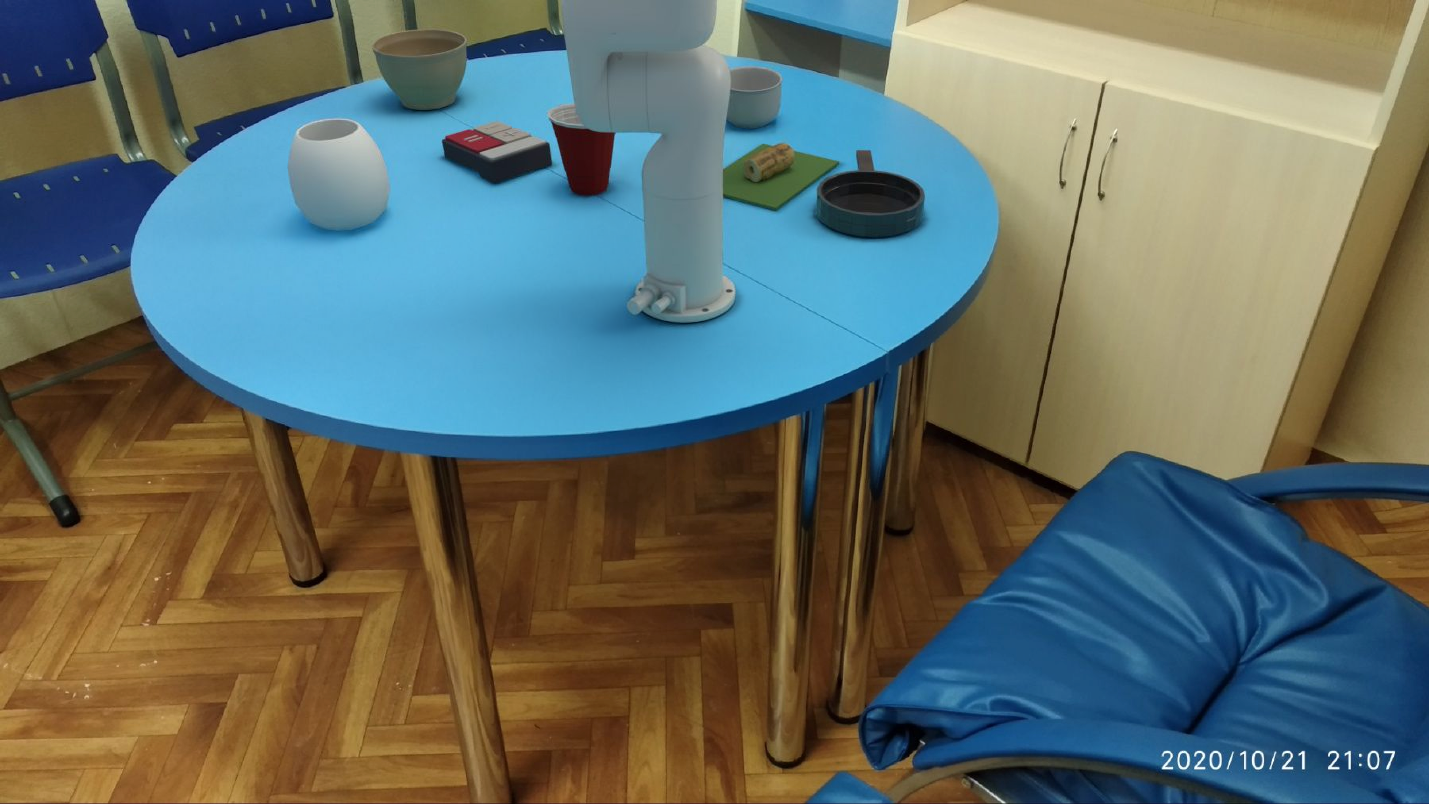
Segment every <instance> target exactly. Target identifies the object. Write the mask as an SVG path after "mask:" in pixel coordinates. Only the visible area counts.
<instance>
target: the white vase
mask: <svg viewBox="0 0 1429 804" xmlns="http://www.w3.org/2000/svg"><path fill="white" fill-rule="evenodd" d="M287 174H288V180H289V187H290V190H291V193H292V197H293V200H294V203H295V205H296V207H297V208H298V210H300V212H301V214H302V215H303V217H304V218H306V220H307V221H308V222H309V223H311V224H313V225H315V226H317V227H318V228H322V229H325V230H329V231H348V230H350V231H351V230H355V229H359V228H362V227H366V226H368V225H370V224H372V223H374V222H376V221H377V219H379V218H380V216H381V215H382V214H384V211H386V209H387V207H388V203H389V198H390V193H391V191H390V190H391V186H390V185H391V184H390V181H389V175H388V169H387V166H386V163H385V159H384V157H383V154H382V151H381V150H380V148H379V146H378V145H377V143H376V141H375V140H374V138H373V137H372V136H371V135H370V134H369V133H368V132H367V130H366V129H365V128H364V127H363V125H361V124H360V123H359V122H358V121H356V120H352V119H348V118H337V117H336V118H335V117H334V118H325V119H319V120H315V121H314V120H313V121H311V122H309V123H307V124H304V125H302V126H301V127H300V128H298V129H297V130H296V131H295V133H294V137H293V140H292V142H291V145H290V149H289V155H288V161H287Z"/></svg>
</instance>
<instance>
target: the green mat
mask: <svg viewBox="0 0 1429 804" xmlns="http://www.w3.org/2000/svg"><path fill="white" fill-rule="evenodd" d="M772 146H773V145H770V144H766V143H761V144H760V145H758V146H757V147H756V148H754V149H752V150H751V151H749V152H748V153H746V154H745V155H743V156H741V157H740V158H738V159H737V160H735V161H734V162H732V163H730V164H729V165H728V166H726V167H723V198H725V199H729V200H734V201H738V202H742V203H745V204H749V205H752V206H757V207H760V208H764V209H768V210H772V211H775V212H777V210H779V209H780V208H782V207H783V206H784V205H786V204H787V203H789V202H790V201H792V200H793V199H794V198H795V197H797V196H798V195H800V194H801V193H802V192H803V191H805V190H807V188H809V187H811V186H812V185H813V184H814V183H816V182H817V181H818V180H820V179H821V178H822V177H824V176H825V175H826V174H828V173H829V172H831V171H832V170H833V169H835V168H836V167H837V166H839V165H840V161H838V160H834V159H830V158H826V157H821V156H817V155H813V154H810V153H805V152H801V151H796V150H793V151H794V155H795V161H794V163H793V164H792V165H791V166H790V167H788V168H787V169H785V170H783V171H781V172H780V173H778V174H776V175H774V176H771V177H770V178H768V179H765V180H761V181H759V182H753V181H752V180H751V179H748V178H746V176H745V175H744V172H743V163H744V161H745V160H747V159H749V158H750V157H752V156H754V155H756V154H758V153H759V152H762V151H764V150H766V149H767V148H770V147H772Z"/></svg>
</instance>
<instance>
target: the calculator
mask: <svg viewBox="0 0 1429 804" xmlns="http://www.w3.org/2000/svg"><path fill="white" fill-rule="evenodd" d="M441 144H442V149H443V150H442V151H443V154H444V158H445V159H447V160H450V161H452V162H454V163H456V164H459V165H460V166H463V167H464V168H467V169H469V170H471V171H473V172H476V173H478V175H479V176H480V177H481V178H482V179H483V180H485V181H488V182H490V183H492V184H499V183H502V182H505V181H507V180H511V179H515V178H517V177H519V176H524V175H525V174H529V173H532V172H534V171H537V170H541V169H544V168H547V167H549V166H552V165H553V159H552V152H551V143H549V142H548V141H546V140H544V139H541V138H539V137H537V136H534V135H531V133H529V132H526V131H524V130H522V129H519V128H516V127H513V126H511V125H509V124H507V123H504V122H501V121H499V120H496V121H495V120H494V121H492V122H489V123H484V124H481V125H479V126H474V127H473V129H471V128H469V129H465V130H461V131H458V132H454V133H451V134H448V135H445V136H444V138H443V139H441Z"/></svg>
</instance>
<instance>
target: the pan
mask: <svg viewBox="0 0 1429 804" xmlns="http://www.w3.org/2000/svg"><path fill="white" fill-rule="evenodd" d="M925 199H926V194H925V191H924V189H923V187H922V185H920V184H919V183H917V182H916V181H914V180H913V179H911V178H908V177H906V176H903V175H901V174H898V173H893V172H889V171H883V170H875V169H874V170H858V169H857V170H847V171H842V172H838V173H835V174H832V175H830V176H828V177H825V178H824V179H823V180H822V181H820V182H819V184H818V186H817V187H816V199H815V215H816V217H817V218H818V219H819V222H821V223H822V224H824V225H826V226H827V227H828V228H829V229H832V230H834V231H836V232H839V233H840V234H841V233H842V234H844V235H849V236H853V237H858V238H859V237H860V238H887V237H894V236H898V235H902V234H904V233H907V232H910V231H911V230H913V229H915V228H916V227H917V226H919V224H920V223H922V219H923V217H924V208H925V201H926V200H925Z"/></svg>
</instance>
